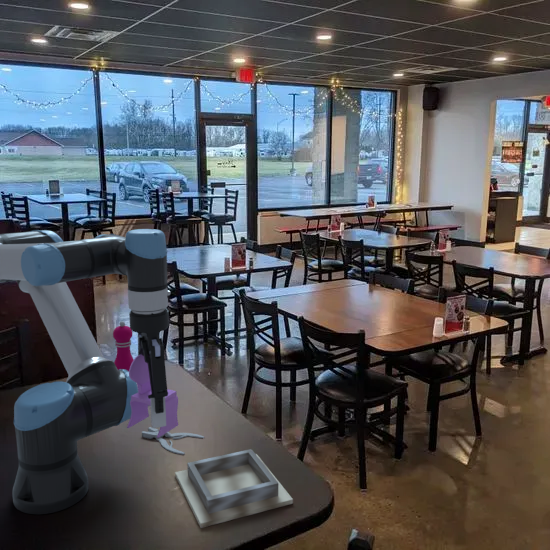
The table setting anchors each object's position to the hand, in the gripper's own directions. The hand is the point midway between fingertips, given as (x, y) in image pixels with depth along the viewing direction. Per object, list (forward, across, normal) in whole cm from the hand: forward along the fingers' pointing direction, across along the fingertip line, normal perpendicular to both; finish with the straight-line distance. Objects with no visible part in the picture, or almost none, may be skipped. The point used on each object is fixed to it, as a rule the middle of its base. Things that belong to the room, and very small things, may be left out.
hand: (153, 415), depth 115 cm
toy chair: (+3, 0, 0) cm, 3 cm away
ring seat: (+20, -2, -16) cm, 25 cm away
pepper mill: (+20, +69, -5) cm, 72 cm away
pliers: (+20, +25, -9) cm, 33 cm away
